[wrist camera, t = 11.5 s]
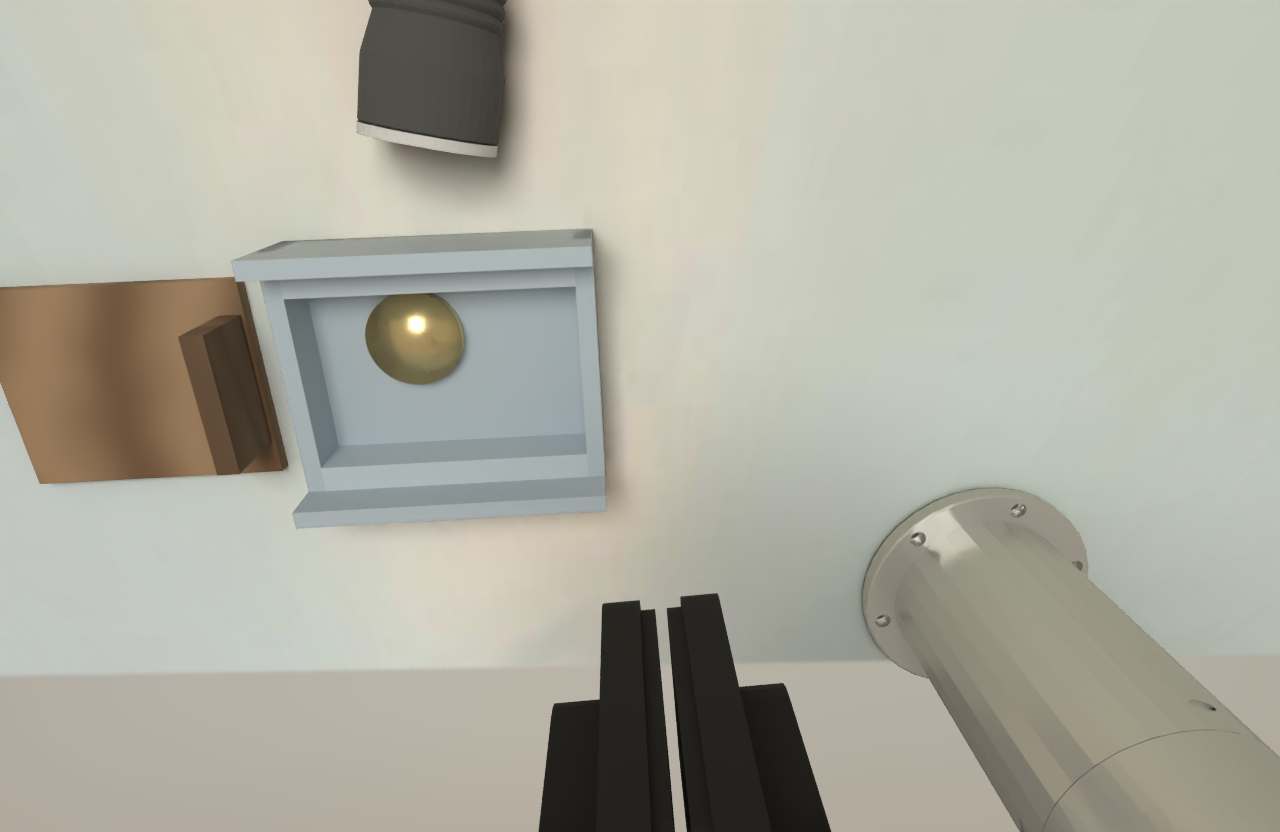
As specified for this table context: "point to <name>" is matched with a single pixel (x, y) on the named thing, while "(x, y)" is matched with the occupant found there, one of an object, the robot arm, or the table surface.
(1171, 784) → the robot arm
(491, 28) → the flashlight
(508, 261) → the light grey open box
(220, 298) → the cover plate
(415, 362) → the brass disc
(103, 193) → the table surface
